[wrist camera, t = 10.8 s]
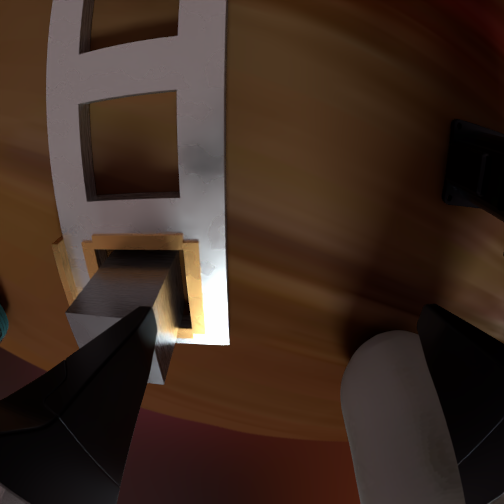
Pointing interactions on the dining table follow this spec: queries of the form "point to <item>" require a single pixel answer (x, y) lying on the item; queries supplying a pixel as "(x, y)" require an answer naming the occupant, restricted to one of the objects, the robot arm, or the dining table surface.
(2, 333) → the beverage bottle
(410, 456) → the glass bottle
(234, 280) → the dining table surface
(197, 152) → the white flat frame
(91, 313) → the steel block
